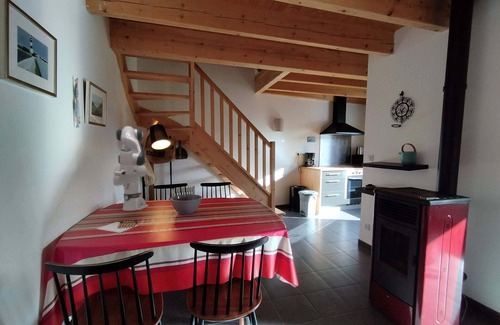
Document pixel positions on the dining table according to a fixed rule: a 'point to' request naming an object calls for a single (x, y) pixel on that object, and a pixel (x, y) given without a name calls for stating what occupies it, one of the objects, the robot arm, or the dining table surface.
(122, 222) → the ammunition clip
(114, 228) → the mat
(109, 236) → the dining table surface
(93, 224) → the dining table surface
